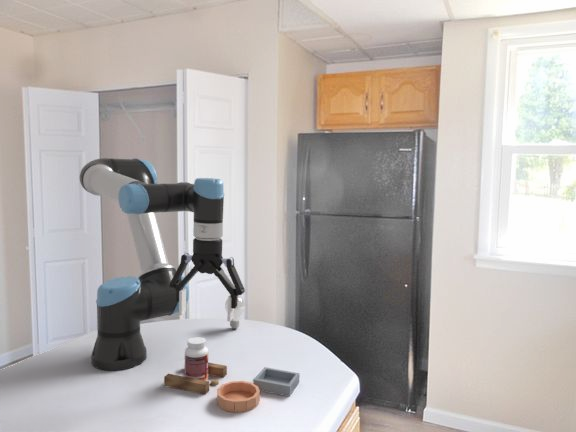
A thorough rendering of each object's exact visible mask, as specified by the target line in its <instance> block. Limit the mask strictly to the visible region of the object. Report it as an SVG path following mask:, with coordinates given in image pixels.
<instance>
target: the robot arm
mask: <svg viewBox="0 0 576 432" xmlns="http://www.w3.org/2000/svg"><path fill="white" fill-rule="evenodd" d="M79 183H80V185H81V188H83V189H84V190H85V191H86V192H88V193H90V194H91V195H93V196H98V197H99V196H103V197H106V198H109V199H110V200H113V201H115V202H117V203H118V204H119V207H120V209H121V211H122V212H123V213H124V214H126V216H127V217H126V218H127V220H128V224H129V227H130V231H131V236H132V239H133V245H134V248H135V251H136V255H137V258H138V264H139V267H140V271H141V272H140V274H139V275H138V277H136V276H120V277H116V278H113V279H108V280H107V281H105V282H102V283H101V285H99V287H97V291H96V294H97V295H96V301H95V303H96V320H97V321H96V323H97V325H96V327H97V329H96V330H97V336H96V338H95V339H96V340H95V343H94V345H93V349H92V352H91V354H90V355H91V356H90V357H91V359H90V361H91V366H93V367H94V368H96V369H97V370H98V369H99V370H102V371H103V370H104V371H121V370H122V371H123V370H126V369H130V368H134V367H136V366H139V365H140V364H142V363H144V362H145V361H146V359H147V355H148V354H147V347H146V345H145V343H144V339H143V336H142V334H141V322H142V321H147V320H152V319H153V320H154V319H156V318H162V317H165V316H166V317H167V316H172V315H174V314H178V316H183V315H184V314H185V313H186V312H187V304H188V301H189V297H190V289H189V288H190V287H189V282H190V281H191V280H192V279H193V277H195V275H196V274H197V273H198V272H199V273H200V274H207V275H212V274H214V276H215V277H217V279H218V280H219V281H220V282H221V284H222V285H223V287H224V288H225V289H226V291H227V292H228V294H229V295H228V296H227V299H228V313H227V319H226V321H227V322H230V321H231V320H232V319H233V318H234V308H236V307H237V301H238V296H242V295H243V294H244V293H245V292H246V289H245V287H244V284H243V283H242V281H241V278H240V275H239V274H238V271H237V269H236V266H235V260H234V257H232V256H230V257H229V258H224V257H223V239H222V237H223V234H224V233H223V231H224V230H223V229H224V224H223V223H224V222H223V221H224V220H223V219H224V203H225V202H224V199H225V198H224V197H225V192H224V182H223V180H222V179H221V178H213V177H211V178H209V177H198V178H195V180H194V182H193V183H190V182H188V181H187V182H183V181H181V182H177V183H158V175H157V172H156V169H155V167H154V165H153V164H152V163H151V162H150V161H148V160H146V159H139V158H108V157H107V158H106V157H104V158H96V159H93V160H91V161H89V162H87V163H86V164H85V165H84V166H83V167H82V169H81V170H80V172H79ZM174 212H175V213H177V212H191V213H193V231H192V232H193V237H194V238H193V239H192V253H193V254H189V253H188V252H186V253H184V254H182V255H181V257H180V262H179V265H178V266H177V269H176V267H175V266H174V265H171V264H170V262H169V259H168V256H167V252H166V248H165V245H164V240H163V237H162V234H161V230H160V226H159V224H158V219H157V216H156V213H174ZM191 262H192V264H193V265H194V266H192V268H191V269H190V270H189V272H188V273H187V274H186V275H185V276H184V275H183V274H184V273H185V270H186V268H187V266H188V265H189V263H191ZM223 264H224V267H226V269H227V271H228V272H227V273H228V275H229V276H230V278H229V276H228V275H227V273H225V270H224V269H223V267H222V265H223Z"/></svg>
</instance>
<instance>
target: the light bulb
mask: <svg viewBox="0 0 576 432" xmlns="http://www.w3.org/2000/svg"><path fill="white" fill-rule="evenodd" d="M224 304H225V305H224V308H225V311H226V313H227V314H228V298H227V299H226V301H225V303H224ZM245 309H246V302H245V300H244V299H243V297H241V295H238V301H237V307H236V308H234V318H233V319H232V320H231V321H229V326H230V327H231V329H233V330H237V329H238V328H239V327H240V325H241V323H240V321H241V316H242V314H243V313H244V312H245Z"/></svg>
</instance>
